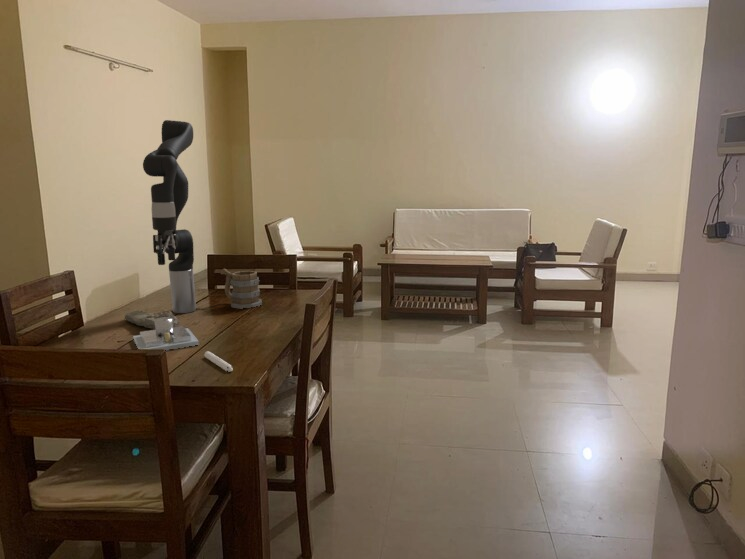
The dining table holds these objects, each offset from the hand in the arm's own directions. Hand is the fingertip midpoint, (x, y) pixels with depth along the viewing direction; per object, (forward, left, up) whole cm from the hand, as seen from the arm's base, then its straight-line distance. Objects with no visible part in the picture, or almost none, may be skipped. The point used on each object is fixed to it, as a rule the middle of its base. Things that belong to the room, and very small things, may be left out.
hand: (166, 262), depth 190 cm
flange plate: (+10, -4, -24) cm, 26 cm away
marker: (+41, +6, -26) cm, 49 cm away
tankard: (-31, +33, -26) cm, 52 cm away
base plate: (+10, -4, -25) cm, 28 cm away
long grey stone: (-13, -6, -25) cm, 29 cm away
